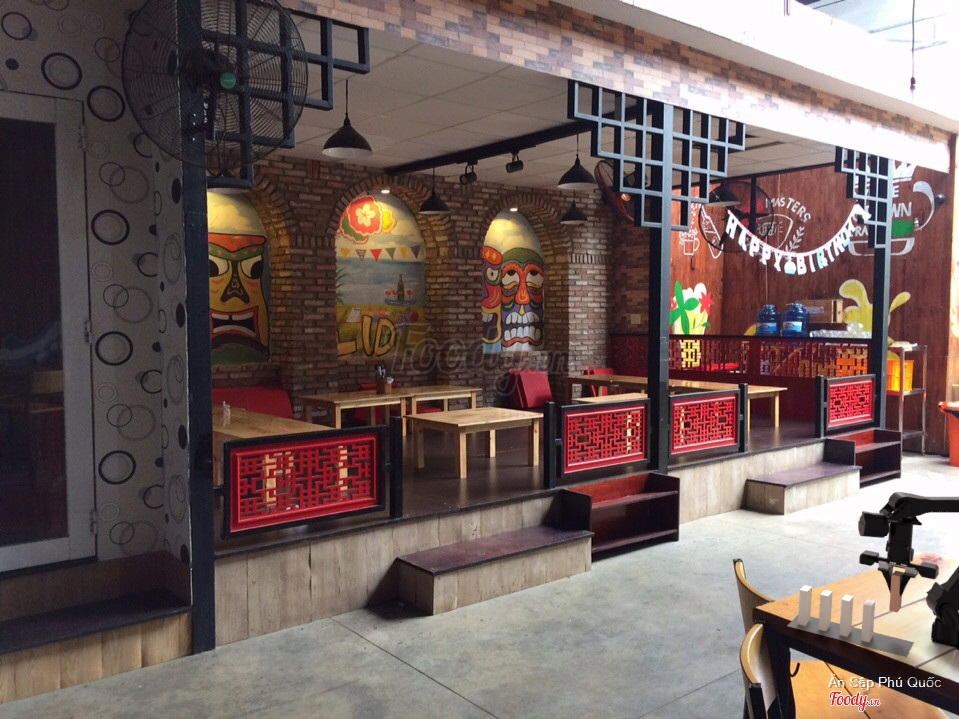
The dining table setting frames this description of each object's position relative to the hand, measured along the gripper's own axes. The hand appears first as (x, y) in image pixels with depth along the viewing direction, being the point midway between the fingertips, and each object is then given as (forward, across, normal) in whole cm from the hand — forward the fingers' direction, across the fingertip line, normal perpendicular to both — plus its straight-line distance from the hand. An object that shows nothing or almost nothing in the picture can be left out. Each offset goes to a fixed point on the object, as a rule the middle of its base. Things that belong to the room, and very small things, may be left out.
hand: (896, 594), depth 215 cm
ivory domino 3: (+12, +11, +7) cm, 17 cm away
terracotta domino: (+4, 0, 0) cm, 4 cm away
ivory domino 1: (+12, +22, +7) cm, 26 cm away
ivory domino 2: (+12, +16, +7) cm, 21 cm away
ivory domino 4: (+12, +5, +7) cm, 15 cm away
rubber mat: (+12, +10, +7) cm, 17 cm away
